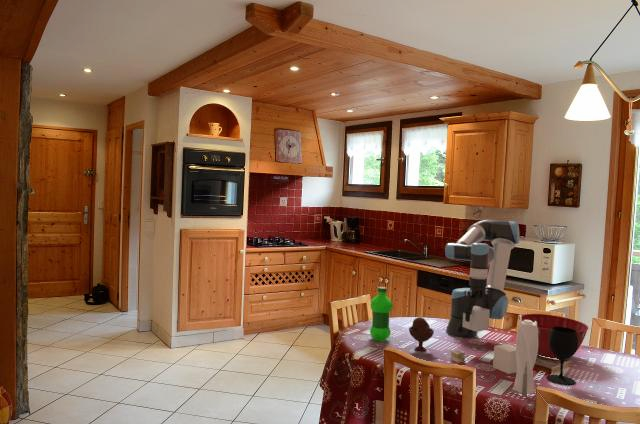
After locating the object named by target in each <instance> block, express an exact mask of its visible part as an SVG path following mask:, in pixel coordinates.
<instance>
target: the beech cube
mask: <svg viewBox="0 0 640 424" xmlns="http://www.w3.org/2000/svg"><path fill="white" fill-rule="evenodd" d="M465 358H466V352H465V351H464V350H463V351H462V350H460V349H454V350H453V349H452V350H451V351H450V360H451V361H452V362H455V363H458V364H459V363H465Z"/></svg>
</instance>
